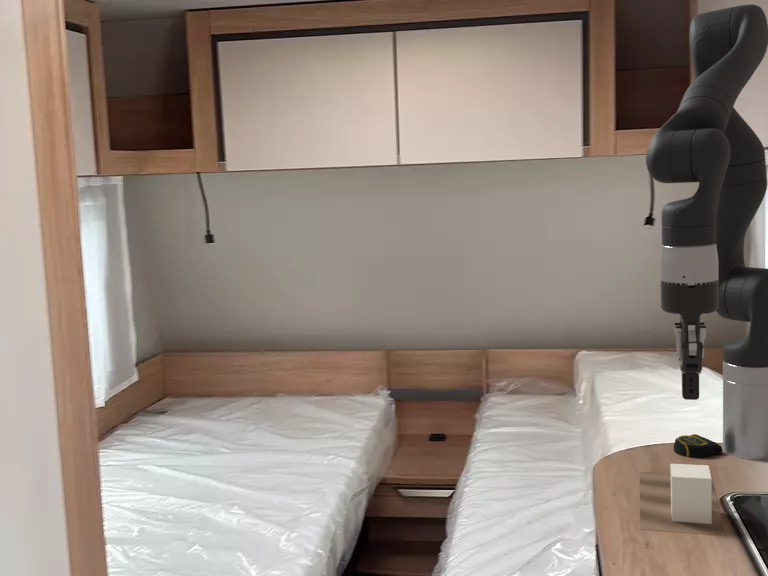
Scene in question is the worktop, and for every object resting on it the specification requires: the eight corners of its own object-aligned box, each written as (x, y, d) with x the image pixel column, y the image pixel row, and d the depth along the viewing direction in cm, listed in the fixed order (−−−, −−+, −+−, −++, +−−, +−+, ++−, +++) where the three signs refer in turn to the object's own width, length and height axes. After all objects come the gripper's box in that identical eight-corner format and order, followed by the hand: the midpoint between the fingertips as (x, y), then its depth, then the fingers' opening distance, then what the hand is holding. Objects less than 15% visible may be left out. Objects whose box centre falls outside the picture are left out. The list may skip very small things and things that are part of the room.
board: (639, 480, 137) (639, 471, 137) (711, 484, 134) (711, 475, 133) (640, 539, 116) (640, 529, 116) (725, 545, 113) (725, 535, 113)
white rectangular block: (670, 506, 123) (670, 463, 122) (708, 508, 121) (708, 465, 120) (672, 521, 118) (671, 476, 117) (711, 523, 116) (711, 478, 115)
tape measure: (724, 463, 143) (724, 442, 142) (690, 469, 140) (690, 448, 140) (698, 451, 149) (698, 431, 148) (665, 457, 147) (665, 436, 146)
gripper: (659, 270, 122) (661, 385, 124) (662, 284, 109) (664, 411, 112) (713, 269, 120) (714, 385, 122) (723, 283, 107) (724, 413, 110)
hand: (690, 398), depth 117 cm, fingers closed
